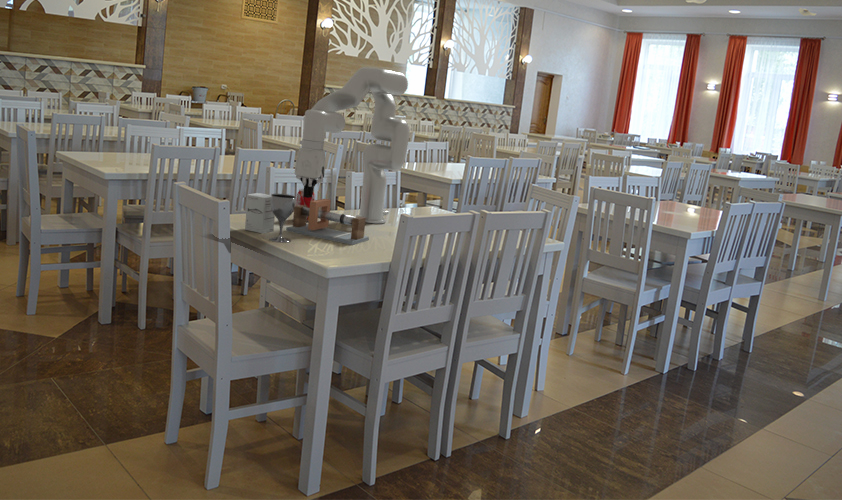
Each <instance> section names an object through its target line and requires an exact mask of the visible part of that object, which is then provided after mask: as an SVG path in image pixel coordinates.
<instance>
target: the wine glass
mask: <svg viewBox="0 0 842 500" xmlns="http://www.w3.org/2000/svg"><path fill="white" fill-rule="evenodd" d="M270 195H271V209H272V212H273V214H274V215H275V217H276V219H277V222H278V225H279V233H278V236H277V237H275V236H274V237H270V238H269V239H268V240H269V241H270V240H271V241H270V242H273V241H274V242H273V243H283V244H286V243H291V242H292V240H291V239H290V238H286V237H283V228H284V224H285V222H286V220H288V219H289V218H290V216H292V214H294V206H296V199H297V196H296V195H293V194H288V193H271V194H270Z"/></svg>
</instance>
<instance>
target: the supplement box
mask: <svg viewBox="0 0 842 500" xmlns="http://www.w3.org/2000/svg"><path fill="white" fill-rule="evenodd" d="M274 225H275V215H274V214H273V212H272V209H271V194H265V193H262V192H261V193H260V192H256V193H255V192H254V193H250V194H249V193H248V194H247V197H246V211H245V225H244V230H245V231H250V232H255V233H258V234H261V235H262V234H268V233H270V232H274V229H275V228H274Z"/></svg>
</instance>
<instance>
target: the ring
mask: <svg viewBox="0 0 842 500" xmlns="http://www.w3.org/2000/svg"><path fill="white" fill-rule="evenodd" d="M331 201H332V199H329V198H321V199H315V200H314V201H310V210H309V222H307V224H308V229H310V230H317V229H321V228H328V227H329V225H330V221H329V220H324V219H320V220H319V218H318V210H322V211H327V212H331V203H332V202H331ZM319 208H321V209H319Z"/></svg>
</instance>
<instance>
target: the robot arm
mask: <svg viewBox="0 0 842 500" xmlns="http://www.w3.org/2000/svg"><path fill="white" fill-rule="evenodd" d="M408 82H409V81H408V78H407V77H406V75H405V74H404V73H402V72H398V71H393V70H389V69H386V68H379V67H370V66H364V67H360V68H358V69H357V70H356V71H355V72H354V73H353V75H352V76H351V77H349V80H348V81H347V82H346V83H345V84H344V85H343V86H342V88H340V89H338V90H335V91H334V92H332V93H330V94H327V95H326V96H323V97H322V98H321V99H319V100H318V101H317V102H316V103H315V104H314V105H313V106H312V107H311V109H307V110H305V112H304V120H303V129H302V131H303V132H302V140H299V145H301V147H300V148H299V149H298V152H297V155H296V159H295V166H294V175H295V178H296V179H297V180H299V181H301V183H302V186H303V189H304V192H303V194H304V197H306V198H311V197H312V195H313V190H314V187H316V185H317V184H319V183H320V184H322V183H324V178H325V174H326V153H325V151H324V145H325V137H326V135H325V134H326V133H330V134H338V133H340V132H342V131H343V130H344V129H345V127H346V119H345V116H344V115H342V114H341V113H340V112H341V111H344V110H349V109H353V108H355V107H358V106H359V105H360V104H361V102H362V101H363V100H364V99H365V98H366V96H368V94H369V93H370V92H371V94H372V97H373V101H374V111H373V116H372V121H371V127H370V133H371V136H372V138H373V139H374V140H376V141H381V142H386V143H391V145H387V144H380V143H369V144H367V145H366V146H365V147H364V149H363V152H362V162H363V173H362V174H363V177H362V185H361V195H360V196H361V197H360V205H359V206H360V207H359V214H358V215H356V216H355V217H365V218H366V220H365V224H366V223H367V224H379V225H380V224H385V223H386V220H387V219H386V218H385V217H384V216H388V215H389V211H388V210H384V206H385V205H384V204H385V197H386V187H387V175H386V172H385V170H387V171H392V172H397V171H400V170H401V169H402V168H403V166H404V165H405V161H406V155H407V150H408V146H409V140H410V127H409V124H408V123H407V121H405V120H403V119H400V118H396V109H397V105H396V101H395V98H394V97H393V96H403V94H405V93H406V91H408V85H409V83H408ZM339 111H340V112H339Z"/></svg>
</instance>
